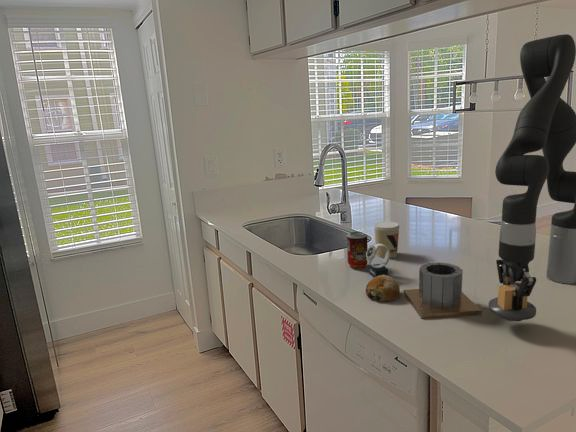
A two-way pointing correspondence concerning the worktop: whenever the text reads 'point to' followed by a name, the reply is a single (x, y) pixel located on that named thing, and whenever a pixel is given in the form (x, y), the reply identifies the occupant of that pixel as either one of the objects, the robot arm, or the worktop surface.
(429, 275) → the gray cylinder on base
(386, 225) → the coffee cup
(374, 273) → the watch
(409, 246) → the worktop surface
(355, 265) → the soda can
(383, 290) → the bread roll
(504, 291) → the cap
